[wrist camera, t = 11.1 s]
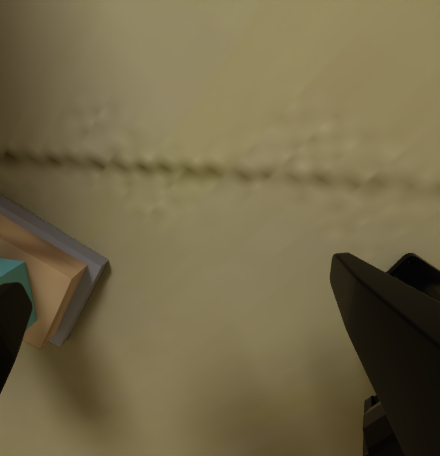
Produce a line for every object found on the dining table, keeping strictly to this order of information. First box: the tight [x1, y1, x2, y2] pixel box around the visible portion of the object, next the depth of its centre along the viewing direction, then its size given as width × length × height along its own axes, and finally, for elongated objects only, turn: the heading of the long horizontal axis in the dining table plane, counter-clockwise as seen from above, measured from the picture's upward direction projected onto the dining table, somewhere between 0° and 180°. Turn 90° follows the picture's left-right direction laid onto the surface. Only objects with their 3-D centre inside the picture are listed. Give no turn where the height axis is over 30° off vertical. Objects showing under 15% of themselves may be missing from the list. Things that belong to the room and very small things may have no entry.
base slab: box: [0, 195, 108, 348], centre depth 26 cm, size 10×10×2 cm
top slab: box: [0, 214, 87, 349], centre depth 24 cm, size 8×8×2 cm
